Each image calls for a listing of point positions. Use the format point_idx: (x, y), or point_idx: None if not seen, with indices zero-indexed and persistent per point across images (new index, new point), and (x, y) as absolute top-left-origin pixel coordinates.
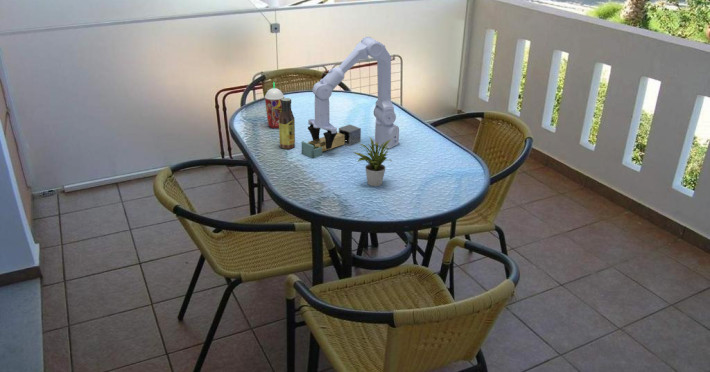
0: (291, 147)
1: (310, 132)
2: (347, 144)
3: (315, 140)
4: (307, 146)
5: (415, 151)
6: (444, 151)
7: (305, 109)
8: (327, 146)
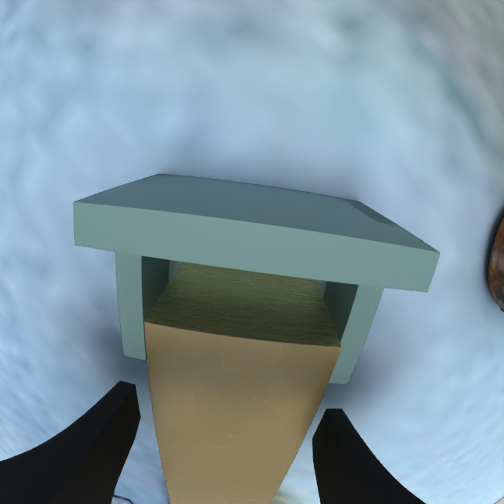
0: (498, 240)
1: (407, 498)
2: None
3: (275, 435)
4: (243, 208)
5: None
6: None
7: (493, 487)
8: (103, 397)
